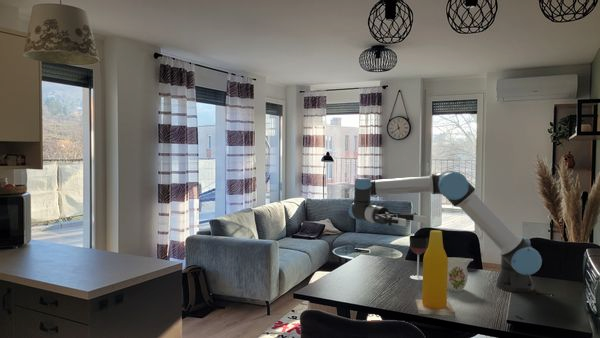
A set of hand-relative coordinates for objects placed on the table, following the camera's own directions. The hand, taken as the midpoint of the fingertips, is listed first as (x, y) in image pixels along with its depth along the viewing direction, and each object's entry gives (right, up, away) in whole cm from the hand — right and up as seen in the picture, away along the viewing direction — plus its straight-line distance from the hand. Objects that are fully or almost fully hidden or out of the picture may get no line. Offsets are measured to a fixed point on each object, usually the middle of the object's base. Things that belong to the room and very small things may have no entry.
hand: (416, 221), depth 174 cm
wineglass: (+11, -32, +37) cm, 50 cm away
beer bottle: (+5, -32, -7) cm, 33 cm away
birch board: (+5, -33, -7) cm, 34 cm away
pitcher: (+21, -33, +19) cm, 43 cm away
